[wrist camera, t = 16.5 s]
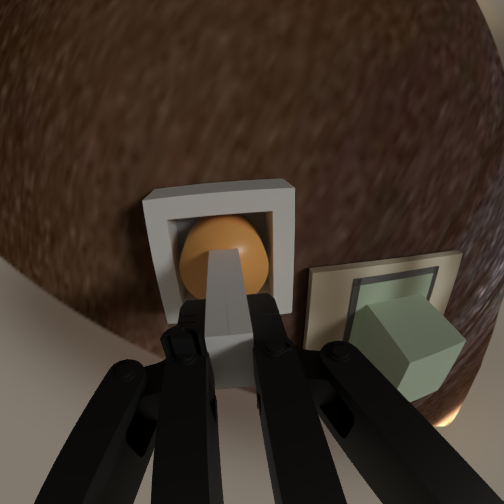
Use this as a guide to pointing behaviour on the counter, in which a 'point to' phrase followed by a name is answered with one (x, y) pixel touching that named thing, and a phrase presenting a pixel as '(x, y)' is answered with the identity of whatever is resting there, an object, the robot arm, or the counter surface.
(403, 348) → the sage block
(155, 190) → the button housing
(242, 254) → the button
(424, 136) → the counter surface
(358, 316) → the beige flat rectangular board
